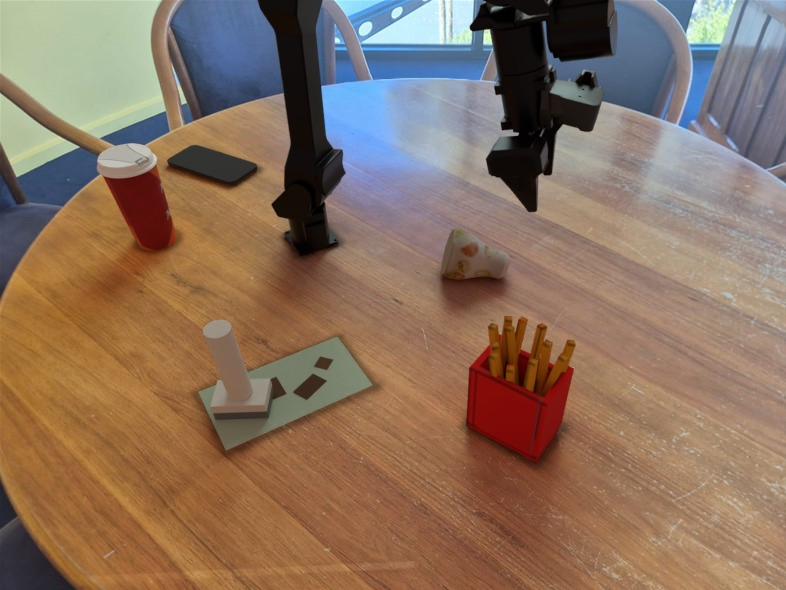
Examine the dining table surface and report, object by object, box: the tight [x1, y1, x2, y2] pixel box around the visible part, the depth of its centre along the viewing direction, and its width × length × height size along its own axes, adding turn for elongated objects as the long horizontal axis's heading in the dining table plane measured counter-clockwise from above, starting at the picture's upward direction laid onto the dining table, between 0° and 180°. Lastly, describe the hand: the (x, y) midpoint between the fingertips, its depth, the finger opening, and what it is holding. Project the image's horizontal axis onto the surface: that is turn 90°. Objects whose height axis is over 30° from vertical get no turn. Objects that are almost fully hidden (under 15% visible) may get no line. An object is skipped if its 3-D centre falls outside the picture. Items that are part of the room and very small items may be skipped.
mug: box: [440, 228, 511, 281], centre depth 89 cm, size 8×10×10 cm
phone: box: [166, 144, 258, 186], centre depth 110 cm, size 7×1×15 cm
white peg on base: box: [202, 319, 274, 420], centre depth 68 cm, size 6×4×12 cm, turn 94°
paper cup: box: [96, 142, 178, 252], centre depth 90 cm, size 8×8×14 cm
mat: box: [198, 336, 373, 451], centre depth 74 cm, size 10×18×1 cm, turn 124°
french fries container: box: [465, 315, 577, 464], centre depth 67 cm, size 7×9×14 cm
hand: (540, 192), depth 79 cm, fingers open, 9 cm apart
